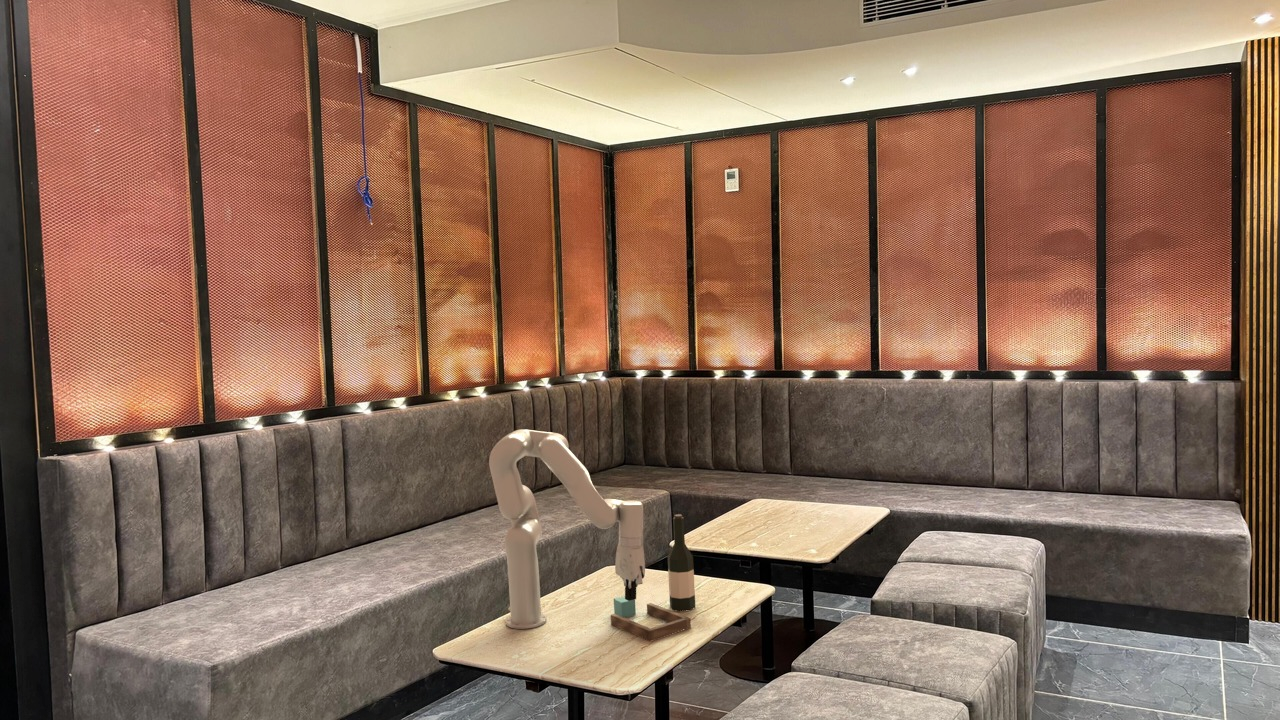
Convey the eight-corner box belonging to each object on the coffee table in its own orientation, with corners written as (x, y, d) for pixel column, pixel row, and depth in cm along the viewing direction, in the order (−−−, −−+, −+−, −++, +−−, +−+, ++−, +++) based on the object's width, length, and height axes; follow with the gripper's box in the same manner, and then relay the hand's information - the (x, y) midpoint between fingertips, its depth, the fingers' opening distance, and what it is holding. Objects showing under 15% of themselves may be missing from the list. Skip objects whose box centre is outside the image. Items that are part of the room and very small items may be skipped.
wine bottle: (667, 611, 279) (662, 518, 277) (672, 602, 287) (668, 512, 285) (693, 611, 277) (688, 518, 275) (697, 603, 285) (693, 512, 283)
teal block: (614, 614, 279) (613, 598, 279) (628, 610, 281) (627, 595, 281) (622, 618, 274) (621, 602, 274) (635, 614, 277) (635, 599, 277)
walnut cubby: (611, 624, 269) (610, 614, 269) (650, 612, 278) (650, 602, 278) (650, 641, 253) (649, 631, 253) (690, 627, 263) (690, 618, 263)
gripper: (607, 537, 274) (607, 595, 275) (635, 548, 262) (635, 608, 263) (626, 534, 279) (626, 591, 280) (655, 544, 267) (654, 603, 268)
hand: (630, 599), depth 272 cm, fingers closed
